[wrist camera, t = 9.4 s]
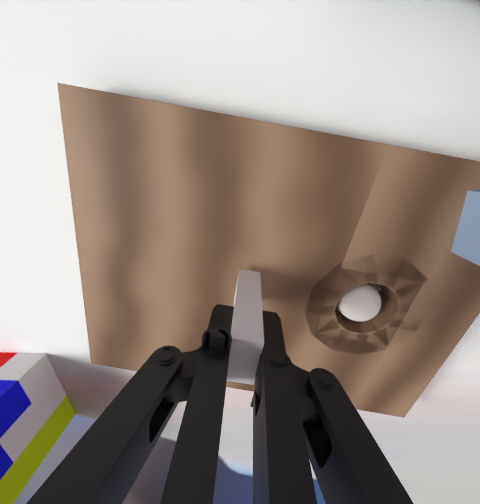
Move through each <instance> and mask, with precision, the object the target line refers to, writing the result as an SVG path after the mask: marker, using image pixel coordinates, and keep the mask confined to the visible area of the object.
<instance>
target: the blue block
mask: <svg viewBox="0 0 480 504" xmlns="http://www.w3.org/2000/svg"><path fill="white" fill-rule="evenodd" d="M451 252H452V253H454V254H456V255H458V256H460V257H462V258H464V259H466V260H468V261H470V262H472V263H474V264H476V265H479V266H480V189H479V190H468V192H467V195H466V199H465V203H464V206H463V210H462V213H461V217H460V220H459V224H458V228H457V231H456V235H455V238H454V242H453V245H452V249H451Z"/></svg>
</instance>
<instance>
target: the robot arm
mask: <svg viewBox="0 0 480 504" xmlns="http://www.w3.org/2000/svg"><path fill="white" fill-rule="evenodd" d="M227 381H231V382H238V383H245V384H251V385H254V381H255V391H254V394H253V398H252V402H251V407H253V504H317V501H316V495H315V490H314V484H313V478H312V473H311V467H310V462H311V464H312V467H313V470H314V473H315V475H316V478H317V481H318V483H319V486H320V489H321V492H322V494H323V497H324V500H325V503H326V504H413V502H412V500H411V499H410V497H409V495H408V494H407V492H406V490H405V489H404V487H403V485H402V484H401V482H400V481H399V479H398V477H397V476H396V474H395V472H394V471H393V469H392V467H391V466H390V464H389V462H388V461H387V459H386V458H385V456H384V454H383V453H382V451H381V449H380V448H379V446H378V444H377V443H376V441H375V440H374V438H373V436H372V435H371V433H370V431H369V430H368V428H367V426H366V425H365V423H364V421H363V420H362V418H361V417H360V415H359V413H358V412H357V410H356V408H355V407H354V405H353V403H352V402H351V400H350V398H349V397H348V395H347V394H346V392H345V390H344V389H343V387H342V385H341V384H340V382H339V380H338V379H337V378H336V377H335V375H334V374H332V373H331V372H330V371H328V370H326V369H323V368H315V369H312V370H311V372H308V371H306V370H304V369H301V368H299V367H298V366H296V365H295V364H293V363H292V362H291V359H290V357H289V356H288V355H287V354H286V349H285V342H284V336H283V330H282V324H281V319H280V317H279V316H278V314H277V313H276V312H270V311H263V310H262V295H261V277H260V272H256V271H250V270H243V269H239V273H238V279H237V285H236V291H235V297H234V304H233V306H228V305H221V304H217V305H216V306H215V307H214V308H213V310H212V314H211V317H210V322H209V325H208V329H207V330H206V331H204V333H203V335H202V344H201V347H199V348H198V349H196V350H194V351H189V352H181V351H180V349H178V348H177V347H175V346H170V345H169V346H163V347H160V348H158V349H157V350H156V351H154V352H153V353H152V355H151V356H150V357H149V358H148V359H147V361H146V362H145V363H144V364H143V365H142V366H141V368H140V369H139V370H138V371H137V372H136V374H135V375H134V376H133V377H132V378H131V380H130V381H129V382H128V383H127V384H126V386H125V387H124V388H123V389H122V390H121V392H120V393H119V394H118V395H117V396H116V397H115V399H114V400H113V401H112V402H111V403H110V405H109V406H108V407H107V408H106V409H105V411H104V412H103V413H102V414H101V415H100V417H99V418H98V419H97V420H96V421H95V423H94V424H93V425H92V426H91V427H90V429H89V430H88V431H87V432H86V433H85V434H84V436H83V437H82V438H81V439H80V440H79V442H78V443H77V444H76V445H75V446H74V448H73V449H72V450H71V451H70V453H68V455H67V456H66V457H65V458H64V459H63V461H62V462H61V463H60V464H59V465H58V467H57V468H56V469H55V470H54V471H53V473H52V474H51V475H50V476H49V477H48V479H47V480H46V481H45V482H44V483H43V485H42V486H41V487H40V488H39V489H38V491H37V492H36V493H35V494H34V495H33V496H32V498H31V499H30V500H29V501H28V503H27V504H122V503H123V501H124V499H125V498H126V496H127V494H128V492H129V490H130V489H131V487H132V485H133V483H134V482H135V480H136V478H137V476H138V474H139V473H140V471H141V469H142V467H143V466H144V464H145V462H146V460H147V458H148V456H149V455H150V453H151V451H152V449H153V447H154V446H155V444H156V442H157V441H158V439H159V437H160V435H161V433H162V432H163V430H164V428H165V426H166V424H167V423H168V421H169V419H170V417H171V415H172V414H173V412H174V410H175V408H176V407H177V405H178V403H179V402H182V401H187V404H186V407H185V411H184V415H183V419H182V423H181V426H180V430H179V434H178V438H177V442H176V445H175V450H174V453H173V457H172V461H171V464H170V468H169V473H168V476H167V480H166V484H165V487H164V491H163V495H162V499H161V503H160V504H212V503H213V494H214V486H215V477H216V469H217V460H218V451H219V443H220V434H221V425H222V416H223V408H224V399H225V390H226V382H227ZM309 459H310V461H309Z"/></svg>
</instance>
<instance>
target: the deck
mask: <svg viewBox="0 0 480 504" xmlns="http://www.w3.org/2000/svg"><path fill="white" fill-rule="evenodd" d="M58 91H59V100H60V108H61V116H62V125H63V133H64V141H65V149H66V158H67V166H68V174H69V183H70V191H71V199H72V207H73V216H74V224H75V232H76V240H77V249H78V257H79V265H80V274H81V282H82V290H83V298H84V307H85V315H86V323H87V332H88V340H89V348H90V356H91V363H92V364H98V365H104V366H110V367H116V368H121V369H127V370H133V371H138V370H139V369H140V368H141V366H142V365H143V364H144V363H145V362H146V361H147V359H148V358H149V357H150V356H151V355H152V353H153V352H154V351H156V350H157V349H158V348H160V347H163V346H169V345H170V346H175V347H177V348H178V349H180V351H181V352H189V351H194V350H196V349H198V348H199V347H201V344H202V335H203V333H204V331H206V330H207V329H208V325H209V322H210V317H211V314H212V310H213V308H214V307H215V306H216V305H217V304H221V305H228V306H233V304H234V297H235V291H236V285H237V279H238V273H239V269H243V270H250V271H256V272H260V277H261V295H262V310H263V311H270V312H276V313H277V314H278V316H279V317H280V319H281V324H282V330H283V336H284V342H285V349H286V354H287V355H288V356H289V357H290V359H291V362H292V363H293V364H295V365H296V366H298V367H299V368H301V369H304V370H306V371H308V372H311V370H312V369H315V368H323V369H326V370H328V371H330V372H331V373H332V374H334V375H335V377H336V378H337V379H338V380H339V382H340V384H341V385H342V387H343V389H344V390H345V392H346V394H347V395H348V397H349V398H350V400H351V402H352V403H353V405H354V407H355V408H356V409H358V410H364V411H370V412H376V413H381V414H387V415H393V416H399V417H405V416H406V414H407V413H408V411H409V410H410V409H411V407H412V406H413V405H414V403H415V402H416V400H417V399H418V398H419V396H420V395H421V393H422V392H423V391H424V389H425V388H426V386H427V385H428V384H429V382H430V381H431V379H432V378H433V377H434V375H435V374H436V373H437V371H438V370H439V368H440V367H441V366H442V364H443V363H444V361H445V360H446V359H447V357H448V356H449V354H450V353H451V352H452V350H453V349H454V348H455V346H456V345H457V343H458V342H459V341H460V339H461V338H462V336H463V335H464V334H465V332H466V331H467V329H468V328H469V327H470V325H471V324H472V323H473V321H474V320H475V318H476V317H477V316H478V314H479V313H480V266H479V265H476V264H474V263H472V262H470V261H468V260H466V259H464V258H462V257H460V256H458V255H456V254H454V253H452V252H451V249H452V245H453V242H454V238H455V235H456V231H457V228H458V224H459V220H460V217H461V213H462V210H463V206H464V203H465V199H466V195H467V192H468V190H479V189H480V162H478V161H473V160H467V159H462V158H457V157H451V156H446V155H441V154H435V153H430V152H425V151H419V150H414V149H409V148H403V147H398V146H393V145H387V144H382V143H377V142H371V141H366V140H361V139H355V138H350V137H344V136H339V135H334V134H328V133H323V132H318V131H312V130H307V129H302V128H296V127H291V126H286V125H280V124H275V123H270V122H264V121H259V120H254V119H248V118H243V117H238V116H232V115H227V114H221V113H216V112H211V111H205V110H200V109H195V108H189V107H184V106H179V105H173V104H168V103H163V102H157V101H152V100H147V99H141V98H136V97H131V96H125V95H120V94H115V93H109V92H104V91H98V90H93V89H88V88H82V87H77V86H72V85H66V84H61V83H58ZM368 283H373V284H379V285H381V289H382V291H381V293H380V298H381V308H380V310H379V312H378V314H377V315H376V316H375V317H374V318H372V319H370V320H367V321H361V322H360V321H354V320H351V319H349V318H347V317H345V316H344V315H343V314H342V313H341V312H338V311H337V310H335V308H336V306H337V304H338V301H339V299H340V297H341V296H343V295H344V294H345V293H346V292H348V291H349V290H350V289H351V288H353V287H356V286H360V285H364V284H368ZM226 387H231V388H237V389H243V390H248V391H255V381H254V385H251V384H245V383H238V382H231V381H227V382H226Z"/></svg>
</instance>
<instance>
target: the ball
mask: <svg viewBox="0 0 480 504" xmlns="http://www.w3.org/2000/svg"><path fill="white" fill-rule="evenodd" d="M337 307H338V309H339V311H340V312H341V313H342V314H343V315H344V316H345V317H347V318H349V319H351V320H354V321H360V322H361V321H367V320H370V319H372V318H374V317H375V316H376V315H377V314H378V312H379V310H380V308H381V298H380V295H379V293H378V291H377V290H376V289H375V288H374V287H373V286H372V285H371V284H369V283H368V284H364V285H360V286H356V287H353V288H351V289H350V290H349V291H348V292H346V293H345V294H344V295H343V296H341V297H340V299H339V301H338V304H337Z"/></svg>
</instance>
